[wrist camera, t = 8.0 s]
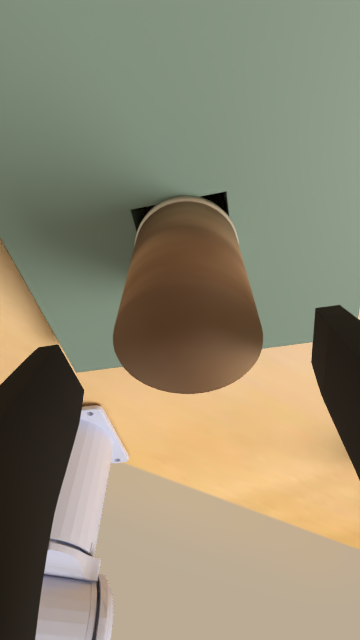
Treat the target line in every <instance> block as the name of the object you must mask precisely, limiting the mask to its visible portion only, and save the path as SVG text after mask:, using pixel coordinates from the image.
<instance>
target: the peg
mask: <svg viewBox="0 0 360 640" xmlns="http://www.w3.org/2000/svg"><path fill="white" fill-rule="evenodd" d="M262 345H263V331H262V326H261V322H260V319H259V315H258V312H257V308H256V304H255V301H254V297H253V294H252V290H251V287H250V283H249V280H248V276H247V273H246V269H245V265H244V262H243V258H242V255H241V251H240V248H239V241H238V236H237V233H236V229H235V227H234V224H233V222H232V220H231V219H230V217H229V216H228V214H227V213H226V212H225V211H224V210H223V209H222V208H221V207H219V206H218V205H217V204H215V203H213V202H211V201H209V200H207V199H204V198H201V197H196V196H178V197H173V198H170V199H167V200H165V201H162V202H161V203H159V204H157V205H156V206H154V207H153V208H152V209H151V210H150V211H149V212H148V213H147V214H146V215H145V217H144V218H143V219H142V221H141V223H140V225H139V227H138V230H137V234H136V238H135V244H134V251H133V255H132V259H131V263H130V267H129V271H128V274H127V278H126V282H125V286H124V290H123V294H122V298H121V302H120V306H119V310H118V314H117V318H116V322H115V326H114V331H113V346H114V351H115V353H116V356H117V358H118V360H119V361H120V363H121V365H122V366H123V367H124V368H125V370H126V371H127V372H129V373H130V374H131V375H132V376H133V377H134V378H136V379H137V380H139V381H140V382H142V383H144V384H146V385H148V386H150V387H153V388H156V389H158V390H162V391H166V392H171V393H180V394H195V393H204V392H209V391H213V390H217V389H220V388H222V387H225V386H227V385H229V384H231V383H233V382H235V381H236V380H238V379H240V378H241V377H242V376H243V375H245V374H246V373H247V372H248V371H249V370H250V369H251V368H252V366H253V365H254V364H255V362H256V361H257V359H258V357H259V355H260V353H261V350H262Z"/></svg>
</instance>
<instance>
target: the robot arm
mask: <svg viewBox="0 0 360 640" xmlns="http://www.w3.org/2000/svg"><path fill="white" fill-rule="evenodd" d="M311 363H312V366H313V369H314V373H315V376H316V379H317V382H318V386H319V389H320V392H321V395H322V397H323V400H324V402H325V404H326V406H327V409H328V411H329V413H330V415H331V418H332V420H333V422H334V424H335V427H336V429H337V431H338V433H339V435H340V437H341V440H342V442H343V444H344V446H345V448H346V451H347V453H348V455H349V457H350V459H351V462H352V464H353V466H354V468H355V470H356V473H357V475H358V477H359V480H360V320H359V319H358V318H356V317H355V316H354V315H352V314H351V313H350V312H349V311H347V310H346V309H345V308H343V307H342V306H341V305H334V306H327V307H320V308H315V319H314V333H313V347H312V361H311ZM83 395H84V389H83V387H82V386H81V384H80V382H79V380H78V379H77V377H76V375H75V373H74V372H73V370H72V368H71V366H70V365H69V363H68V361H67V359H66V358H65V356H64V354H63V352H62V351H61V349H60V347H59V345H52V346H45V347H39V348H37V349H36V350H35V351H34V352H33V353H32V354H31V355H30V356H29V357H28V358H27V359H26V360H25V361H24V362H23V363H22V364H21V365H20V366H19V367H18V368H17V369H16V370H15V371H14V372H13V373H12V374H11V375H10V376H9V377H8V378H7V379H6V380H5V381H4V382H3V383H2V384H1V385H0V640H111V632H112V622H113V596H112V591H111V588H110V587H109V584H108V580H107V578H106V576H104V575H103V574H99V568H100V562H101V559H100V558H96V557H94V554H95V548H96V543H97V537H98V531H99V526H100V520H101V515H102V509H103V503H104V498H105V492H106V487H107V481H108V475H109V470H110V464H111V463H121V462H127V461H128V459H129V455H128V453H127V452H126V450H125V448H124V446H123V444H122V442H121V441H120V439H119V437H118V435H117V433H116V431H115V430H114V428H113V426H112V424H111V422H110V420H109V419H108V417H107V415H106V413H105V411H104V409H103V408H102V407H101V406H98V405H93V406H84V407H82V403H83Z"/></svg>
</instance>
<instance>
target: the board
mask: <svg viewBox="0 0 360 640" xmlns="http://www.w3.org/2000/svg"><path fill="white" fill-rule="evenodd" d="M221 192H223V195H224V204H225V212H226V213H227V214H228V216H229V217H230V219H231V220H232V222H233V224H234V227H235V229H236V233H237V236H238V241H239V248H240V251H241V255H242V258H243V262H244V265H245V269H246V273H247V276H248V280H249V283H250V287H251V290H252V294H253V297H254V301H255V304H256V308H257V312H258V315H259V319H260V322H261V326H262V331H263V345H262V349H263V348H270V347H278V346H286V345H293V344H301V343H309V342H313V333H314V319H315V308H320V307H327V306H334V305H341V306H342V307H343V308H345V309H346V310H347V311H349V312H350V313H351V314H352V315H354V316H355V317H356V318H358V314H359V308H360V0H0V239H1V240H2V242H3V244H4V246H5V247H6V249H7V251H8V253H9V254H10V256H11V258H12V260H13V262H14V263H15V265H16V267H17V269H18V270H19V272H20V274H21V276H22V277H23V279H24V281H25V283H26V285H27V286H28V288H29V290H30V292H31V293H32V295H33V297H34V299H35V301H36V302H37V304H38V306H39V308H40V309H41V311H42V313H43V315H44V316H45V318H46V320H47V322H48V324H49V325H50V327H51V329H52V331H53V332H54V334H55V336H56V338H57V339H58V341H59V343H60V345H61V347H62V348H63V350H64V352H65V354H66V355H67V357H68V359H69V361H70V362H71V364H72V366H73V368H74V370H75V371H76V373H77V372H85V371H92V370H100V369H108V368H116V367H123V366H122V365H121V363H120V361H119V360H118V358H117V356H116V353H115V351H114V346H113V331H114V326H115V322H116V318H117V314H118V310H119V306H120V302H121V298H122V294H123V290H124V286H125V282H126V278H127V274H128V271H129V267H130V263H131V259H132V255H133V251H134V244H135V238H136V234H137V230H138V227H139V225H140V223H141V221H142V219H143V218H144V215H143V211H142V207H147V206H152V205H157V204H159V203H161V202H162V201H165V200H167V199H170V198H173V197H178V196H196V197H200V196H205V195H210V194H215V193H221Z"/></svg>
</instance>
